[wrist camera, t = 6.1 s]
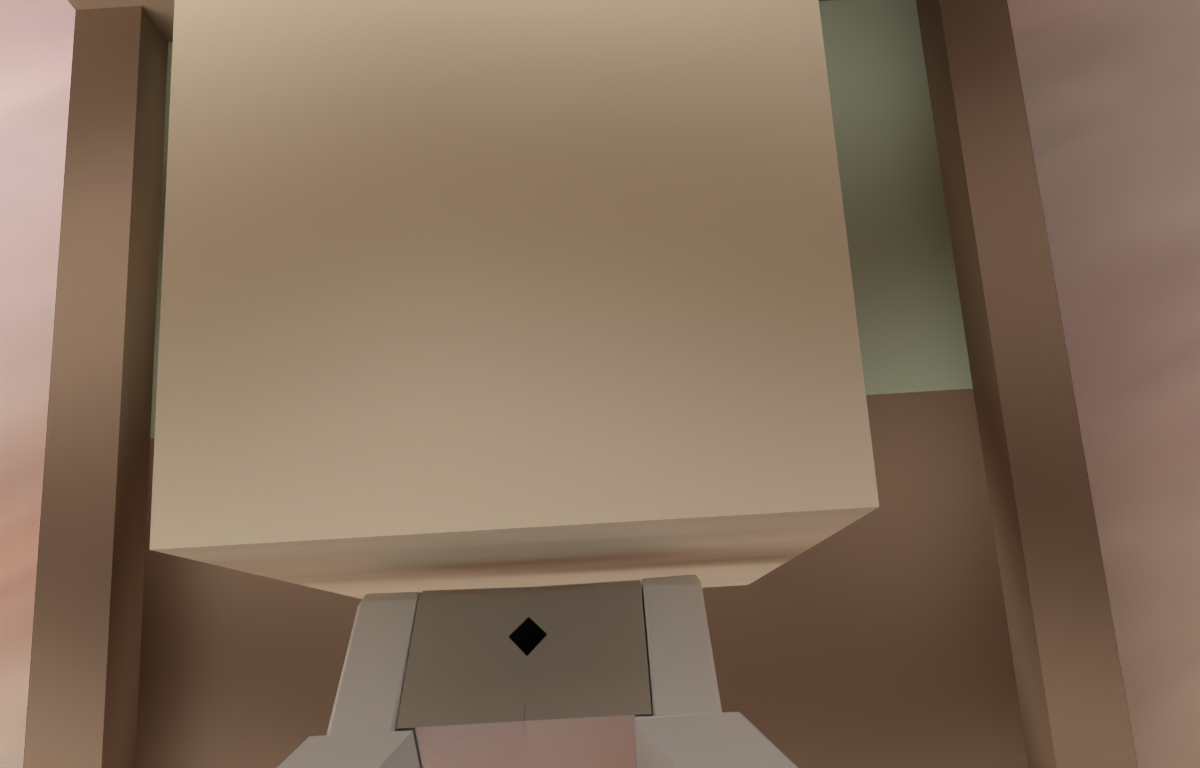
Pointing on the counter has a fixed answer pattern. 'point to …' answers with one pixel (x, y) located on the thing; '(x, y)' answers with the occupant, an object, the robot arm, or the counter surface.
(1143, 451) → the counter surface
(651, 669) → the robot arm
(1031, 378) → the trap box
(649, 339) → the birch block
